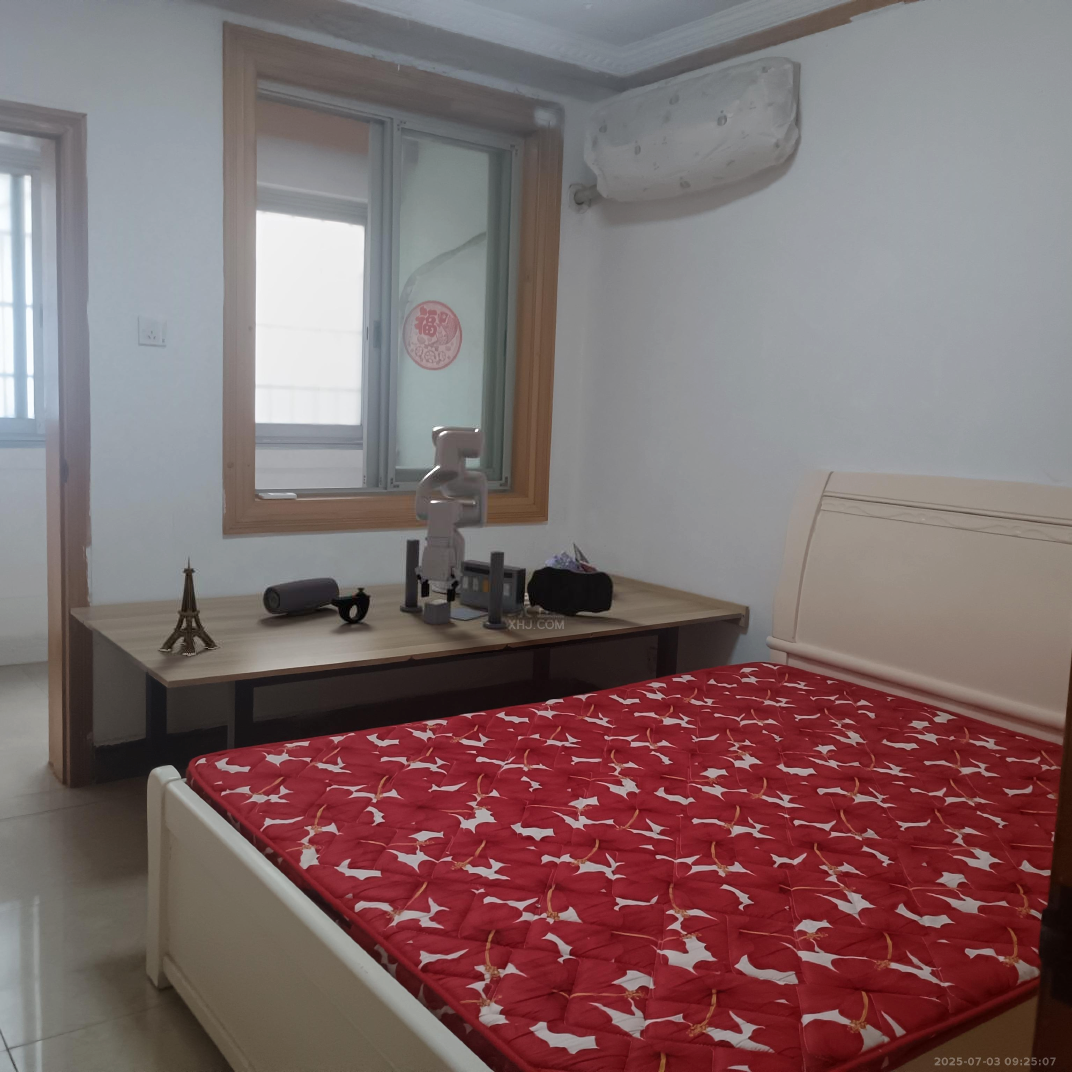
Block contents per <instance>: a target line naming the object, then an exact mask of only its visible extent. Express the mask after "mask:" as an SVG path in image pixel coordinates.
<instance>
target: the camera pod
mask: <svg viewBox="0 0 1072 1072" xmlns="http://www.w3.org/2000/svg"><path fill="white" fill-rule="evenodd" d="M423 609H424V610H423V623H425V624H429V625H435V626H438V625H441V624H444V623H448V622H451V618H450V617H451V610H452V602H447V599H440V598H439V599H434V600H430V601H426V602H424V605H423Z"/></svg>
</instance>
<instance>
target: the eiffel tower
mask: <svg viewBox="0 0 1072 1072" xmlns="http://www.w3.org/2000/svg"><path fill="white" fill-rule="evenodd" d="M194 569H195V568H194V567H193V568H192V567H191V566H190V557H188V562H187V567H185V568H183V571H182V573H184V574H185V576H184V585H183V591H182V592H183V593H182V600H181V608H180V609H179V610H178V611H177V614H179V616H178V620H177V622H176V623H177V624H176V625H175V627H173V632H172V633H171V634H170V635H169V636H168V637H167V639H166V640H165V642H163V644H162V646H161V647H160V648H159V649H166V650H168V649H173V648H174V646H175V644H176V643H177V642H178V640H180V638H183V639H182V641H181V643H185V644H186V645H184V648H183V652H182V654H183V653H188V654H189V653H190V654H191V653H195V652H196V648H195V644H193V643H195V642H196V641H195V640H194V638H196V637H197V638H199V639H200V641H202V643H203V645H204V646H203V648H204V647H208V648H214V647H217V646H218V645H217V644H216V642H215V640H213V639H212V637H211V636H210V635H209V634H208V633H207V632H206V630H205V626H203V624H202V622H201V620H200V616H199V614H200V613H201V611H200V609H198V607H197V600H196V593H195V585H194V576H193V574H194V573H196V571H195V570H194ZM193 620H194V624H195V625H193ZM184 621H185V625H184Z"/></svg>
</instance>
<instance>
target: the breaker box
mask: <svg viewBox="0 0 1072 1072" xmlns="http://www.w3.org/2000/svg"><path fill="white" fill-rule="evenodd" d="M526 573H527V567H519V566H512V565H508V564H507V565H506V564H505V565H504V572H503V596H502V613H508V614H512V615H517V614H521V613H525V602H526V600H525V598H526V597H525V596H526V577H527V576H526ZM461 574H463V578H462V580H461V583H460V593H459V604H460V605H465V606H468V607H476V608H480V609H486V610H488V607H489V581H490V562H487V561H479V560H476V559H473V560H472V559H467V560H465V561H461Z"/></svg>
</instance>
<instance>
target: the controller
mask: <svg viewBox="0 0 1072 1072" xmlns="http://www.w3.org/2000/svg"><path fill="white" fill-rule="evenodd" d="M357 590H358V591H357V592H356V593H355V594H349V595H346V596H339V597H337V598H333V599H332V601H331V604H330V605H332V606H333V607H335V608H337V613H338V615H339V617H340V619H341V620H343V621H344V622H346V623H348V624H357V623H359V622H361V621H363V620H364V619H365V618H366V616H367V614H368V612H369V608H370V603H371V599H370V598H371V597H372V596H371V595H370V594H367V593H365V590H366V589H365V588H364V587H358V588H357ZM354 606H355V607H356V612H355V615H354V616H351V615H350V614H351V613H350V612H351V609H352V608H353V607H354Z"/></svg>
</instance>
